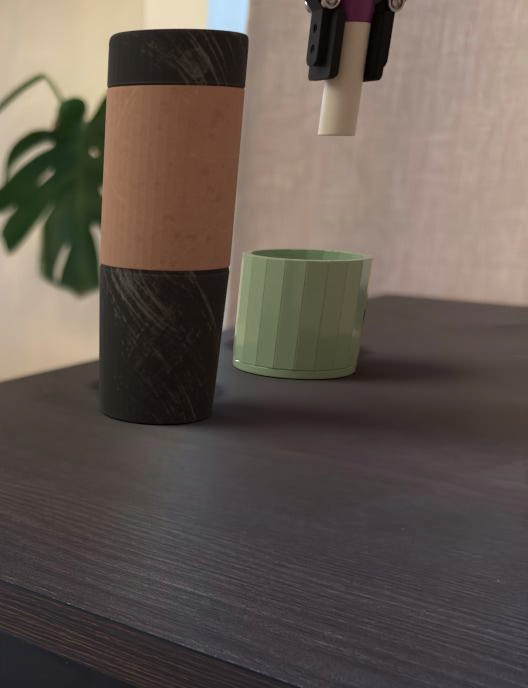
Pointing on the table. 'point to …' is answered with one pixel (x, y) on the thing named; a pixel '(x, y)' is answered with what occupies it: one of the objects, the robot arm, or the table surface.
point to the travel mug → (167, 219)
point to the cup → (301, 312)
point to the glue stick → (347, 72)
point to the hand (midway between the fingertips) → (344, 77)
